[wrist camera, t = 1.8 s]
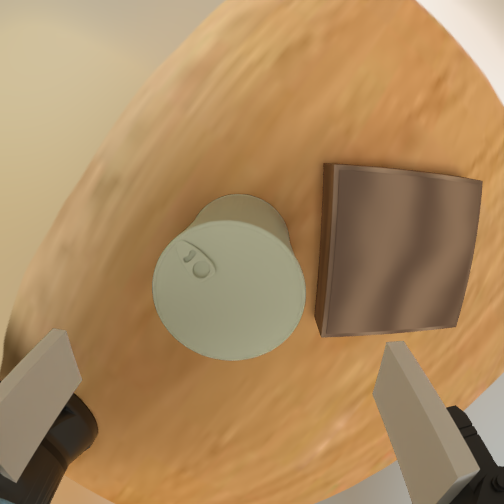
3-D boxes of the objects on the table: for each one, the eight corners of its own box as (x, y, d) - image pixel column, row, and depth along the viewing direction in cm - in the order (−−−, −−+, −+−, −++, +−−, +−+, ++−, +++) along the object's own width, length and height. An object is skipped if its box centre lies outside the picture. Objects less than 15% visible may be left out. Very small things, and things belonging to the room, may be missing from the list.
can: (246, 172, 27) (237, 184, 16) (309, 251, 29) (338, 312, 18) (170, 236, 29) (118, 287, 18) (233, 307, 31) (220, 387, 20)
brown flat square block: (314, 316, 31) (321, 338, 27) (323, 163, 27) (334, 164, 23) (439, 310, 31) (456, 327, 27) (459, 176, 26) (483, 181, 23)
